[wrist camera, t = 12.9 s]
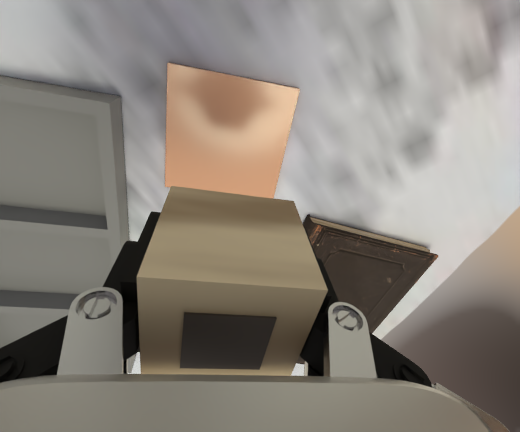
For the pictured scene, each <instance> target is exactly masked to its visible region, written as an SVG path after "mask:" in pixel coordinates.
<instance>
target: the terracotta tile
mask: <svg viewBox="0 0 520 432" xmlns="http://www.w3.org/2000/svg"><path fill="white" fill-rule="evenodd" d="M299 91H300V89H299V88H295V87H290V86H285V85H280V84H275V83H270V82H265V81H260V80H255V79H250V78H245V77H240V76H235V75H230V74H225V73H220V72H215V71H210V70H205V69H200V68H195V67H190V66H185V65H180V64H175V63H170V62H169V63H167V110H166V162H165V187H171V186H178V187H185V188H193V189H201V190H209V191H217V192H225V193H233V194H241V195H249V196H257V197H265V198H273V197H274V193H275V189H276V185H277V181H278V177H279V173H280V169H281V165H282V161H283V156H284V152H285V148H286V144H287V140H288V136H289V132H290V128H291V124H292V120H293V116H294V112H295V107H296V103H297V99H298V95H299Z"/></svg>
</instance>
